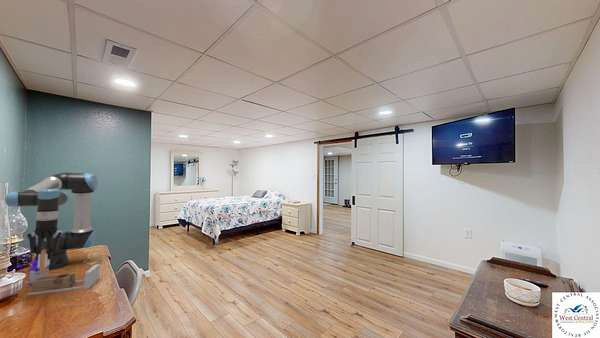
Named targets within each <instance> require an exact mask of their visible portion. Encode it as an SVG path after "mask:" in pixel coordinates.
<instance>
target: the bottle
mask: <svg viewBox="0 0 600 338" xmlns="http://www.w3.org/2000/svg"><path fill="white" fill-rule="evenodd" d="M31 264H32V265H31V266H30V267H29V274H28V275H29V276H28V285H29V286H32V282H33V281H35V280H36V279H38V278H39V277H41V276H46V275H49V270H50V269H49V265H48V266H47V271H46V274H41V275H40V274H39V272H40V267H37V266H38V260H36V254H35V253H34V259H33V260H32V262H31Z"/></svg>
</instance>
